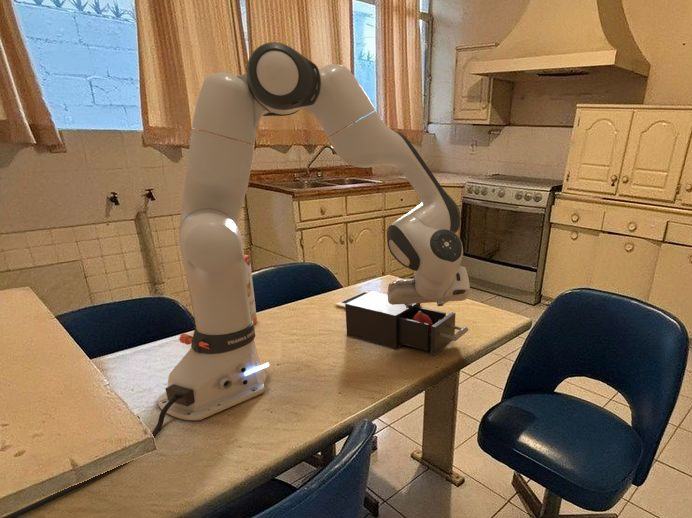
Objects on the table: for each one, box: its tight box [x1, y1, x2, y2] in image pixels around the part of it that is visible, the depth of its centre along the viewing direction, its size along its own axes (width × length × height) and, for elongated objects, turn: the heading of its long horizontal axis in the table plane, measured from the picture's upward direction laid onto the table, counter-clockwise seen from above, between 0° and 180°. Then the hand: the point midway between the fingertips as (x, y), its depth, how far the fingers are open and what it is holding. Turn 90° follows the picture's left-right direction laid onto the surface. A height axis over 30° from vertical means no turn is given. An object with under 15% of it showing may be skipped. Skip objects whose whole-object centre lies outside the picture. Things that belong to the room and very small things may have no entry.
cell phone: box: [335, 290, 370, 309], centre depth 154 cm, size 8×16×1 cm, turn 148°
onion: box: [412, 311, 433, 333], centre depth 120 cm, size 6×6×8 cm
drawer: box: [397, 306, 469, 356], centre depth 121 cm, size 20×11×8 cm, turn 60°
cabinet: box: [344, 290, 421, 350], centre depth 128 cm, size 17×13×10 cm
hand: (424, 304), depth 119 cm, fingers open, 7 cm apart
